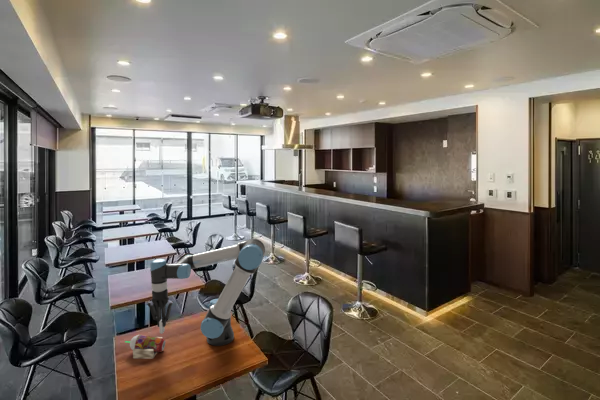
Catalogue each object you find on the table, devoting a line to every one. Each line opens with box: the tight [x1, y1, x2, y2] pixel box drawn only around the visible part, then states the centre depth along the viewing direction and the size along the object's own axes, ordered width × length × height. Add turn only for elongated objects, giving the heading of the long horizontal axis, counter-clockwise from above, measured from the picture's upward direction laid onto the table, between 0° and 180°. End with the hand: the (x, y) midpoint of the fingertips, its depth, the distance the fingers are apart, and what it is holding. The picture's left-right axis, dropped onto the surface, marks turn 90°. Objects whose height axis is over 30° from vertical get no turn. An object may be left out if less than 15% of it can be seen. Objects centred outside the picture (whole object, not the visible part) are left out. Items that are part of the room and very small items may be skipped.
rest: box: [132, 336, 164, 360], centre depth 178 cm, size 10×13×4 cm
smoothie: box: [124, 334, 166, 353], centre depth 177 cm, size 8×8×20 cm
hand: (162, 332), depth 177 cm, fingers closed
